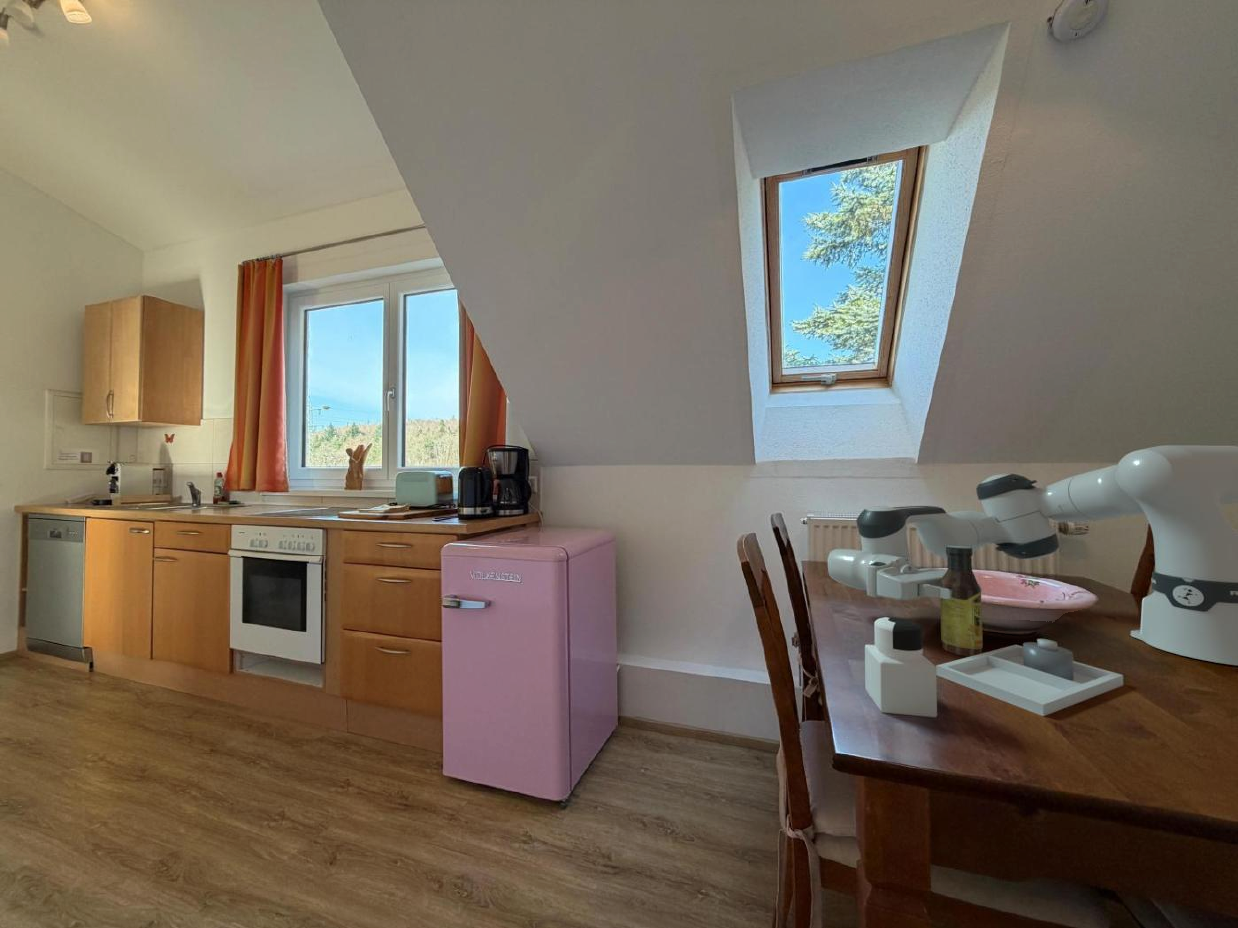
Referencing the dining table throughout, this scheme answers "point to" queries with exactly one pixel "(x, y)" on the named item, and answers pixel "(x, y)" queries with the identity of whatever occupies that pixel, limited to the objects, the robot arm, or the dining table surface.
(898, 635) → the medicine bottle
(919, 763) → the dining table surface
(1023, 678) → the white rectangular tray
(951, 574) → the sauce bottle
